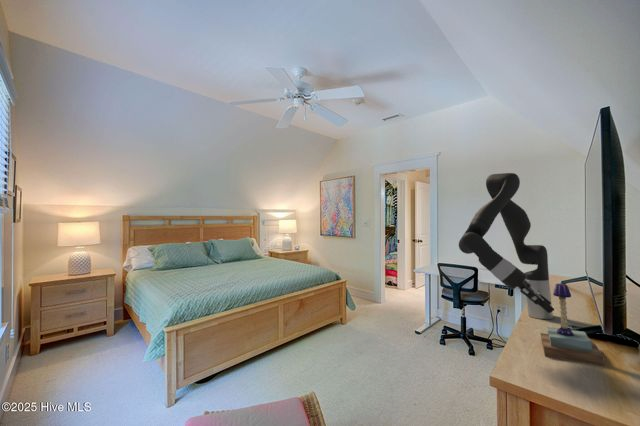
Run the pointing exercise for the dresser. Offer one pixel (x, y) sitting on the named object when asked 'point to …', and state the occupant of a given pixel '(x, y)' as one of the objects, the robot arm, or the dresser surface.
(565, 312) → the toy lamp
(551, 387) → the dresser surface
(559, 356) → the brick stand
